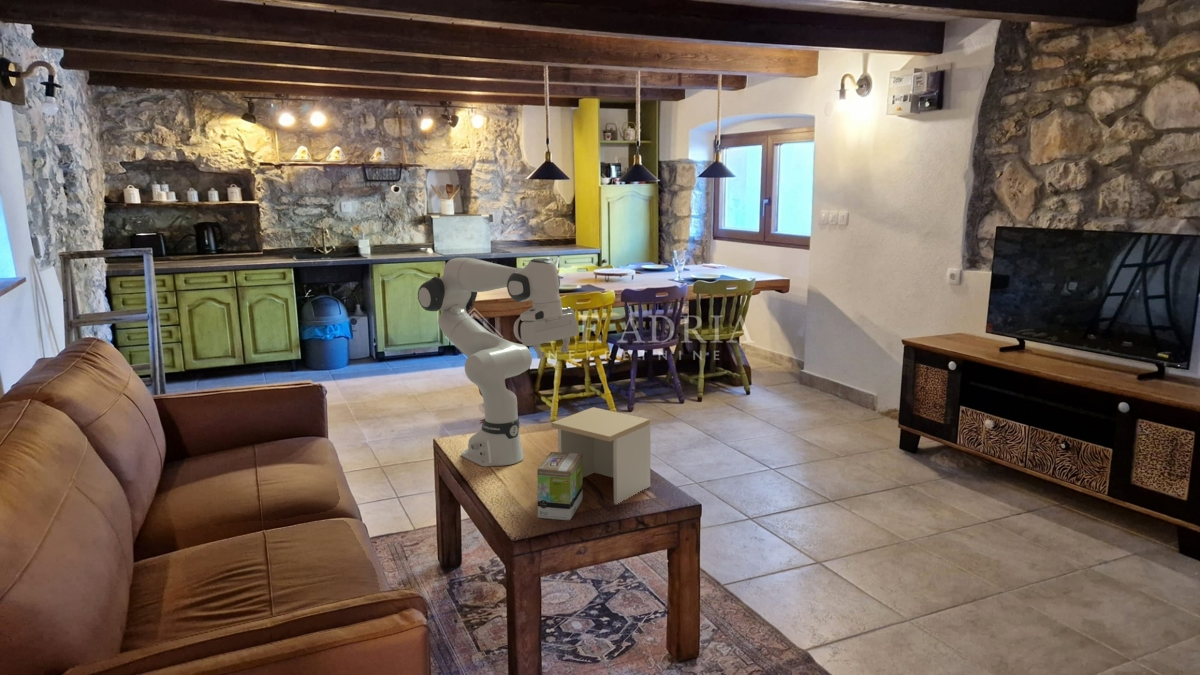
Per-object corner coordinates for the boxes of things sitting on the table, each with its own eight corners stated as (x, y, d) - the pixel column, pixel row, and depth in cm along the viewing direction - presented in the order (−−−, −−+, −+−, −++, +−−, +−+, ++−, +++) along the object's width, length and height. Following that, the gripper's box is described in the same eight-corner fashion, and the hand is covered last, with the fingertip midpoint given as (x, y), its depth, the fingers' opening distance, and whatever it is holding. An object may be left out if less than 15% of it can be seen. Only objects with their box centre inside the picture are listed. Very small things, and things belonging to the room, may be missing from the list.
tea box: (571, 521, 210) (570, 470, 208) (536, 518, 212) (535, 468, 210) (583, 499, 225) (583, 452, 222) (550, 497, 227) (549, 450, 224)
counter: (552, 489, 232) (551, 422, 228) (593, 470, 248) (592, 407, 244) (610, 508, 219) (610, 436, 214) (650, 486, 234) (650, 419, 230)
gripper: (567, 306, 242) (572, 348, 244) (515, 316, 229) (521, 361, 231) (580, 306, 238) (584, 349, 240) (527, 316, 224) (533, 362, 226)
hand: (553, 355), depth 235 cm, fingers open, 8 cm apart
